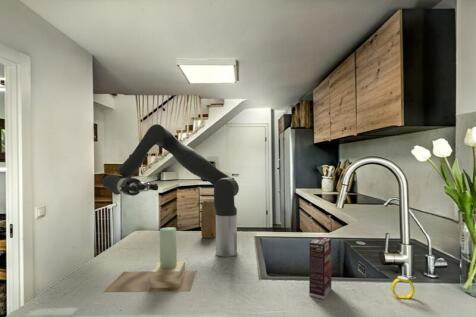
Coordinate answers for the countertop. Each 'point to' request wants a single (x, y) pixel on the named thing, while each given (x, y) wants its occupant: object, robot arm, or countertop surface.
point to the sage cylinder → (168, 248)
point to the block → (208, 219)
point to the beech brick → (168, 276)
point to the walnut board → (146, 283)
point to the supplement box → (320, 267)
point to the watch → (403, 279)
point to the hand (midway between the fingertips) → (147, 188)
